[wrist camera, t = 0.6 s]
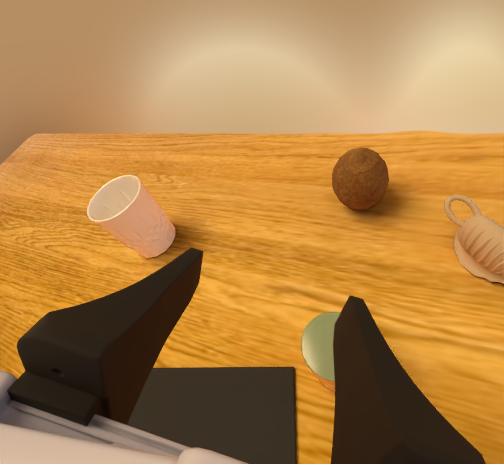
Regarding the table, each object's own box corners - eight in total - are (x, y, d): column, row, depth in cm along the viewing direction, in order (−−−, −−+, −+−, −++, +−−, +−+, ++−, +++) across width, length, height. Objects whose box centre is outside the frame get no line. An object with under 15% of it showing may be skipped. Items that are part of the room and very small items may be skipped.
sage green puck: (377, 388, 24) (377, 382, 21) (308, 387, 25) (302, 381, 23) (366, 321, 27) (365, 309, 25) (305, 324, 28) (299, 313, 26)
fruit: (355, 230, 36) (350, 184, 30) (326, 200, 40) (317, 154, 34) (399, 203, 36) (404, 152, 30) (365, 176, 40) (364, 126, 34)
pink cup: (151, 270, 43) (102, 230, 35) (125, 247, 47) (77, 208, 40) (189, 230, 45) (151, 184, 37) (161, 212, 50) (122, 168, 42)
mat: (298, 560, 22) (297, 561, 21) (100, 524, 27) (96, 525, 27) (294, 367, 29) (293, 366, 29) (139, 368, 34) (137, 368, 34)
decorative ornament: (491, 296, 27) (511, 269, 23) (430, 231, 33) (438, 200, 29) (534, 278, 27) (562, 247, 23) (465, 216, 32) (478, 181, 28)
